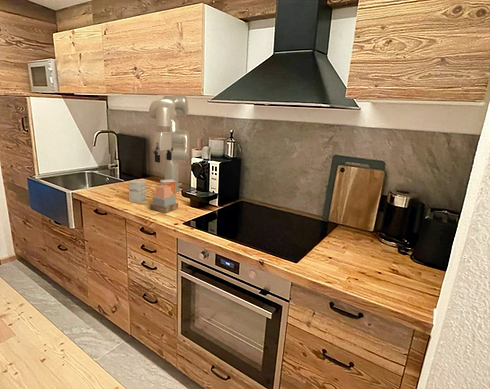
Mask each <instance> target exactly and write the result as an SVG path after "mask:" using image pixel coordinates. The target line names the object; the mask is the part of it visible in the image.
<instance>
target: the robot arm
mask: <svg viewBox="0 0 490 389" xmlns="http://www.w3.org/2000/svg"><path fill="white" fill-rule="evenodd" d="M148 114H149V116H150V118H151V119H153V120H155V132H154V138H153V145H152V146H151V150H152V153H153V155H154V162H155V163H158V164H159V163H161V152H163V154H162V155H163V158H164V159H163V160H164V180H174V181H175V182H176V193H177V191H178V192H181V187H180V186H182V185H183V183H182V182H179V173H180V172H179V169H180V168H179V167H180V166H179V164H178V162H177V161H178V160H180V161H187V160H189V158H190V133H189V131H188V130H185V129H179V127H180V122H179V121H178V119H177V116H179V117H186V116H188V114H189V103H188V98H187V96H186V95H185V96H165V95H163V98H161V99H157V100H154V101H152V102H151V103H150V106H149V110H148ZM176 144H177V145H176Z"/></svg>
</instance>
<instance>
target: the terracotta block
mask: <svg viewBox="0 0 490 389" xmlns="http://www.w3.org/2000/svg"><path fill="white" fill-rule="evenodd" d="M155 196H156V197H158V198H163V199H165V198H168V197H171V186H167V185H160V184H159V185H156V186H155Z"/></svg>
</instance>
